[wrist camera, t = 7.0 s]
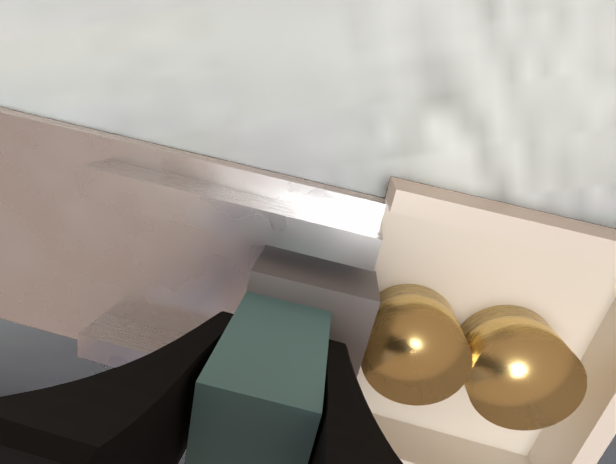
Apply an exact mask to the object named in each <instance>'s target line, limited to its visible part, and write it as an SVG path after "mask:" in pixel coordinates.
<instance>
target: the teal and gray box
mask: <svg viewBox="0 0 616 464" xmlns="http://www.w3.org/2000/svg"><path fill="white" fill-rule="evenodd" d="M380 303H381V301H380V295H379V288H378V282H377V276H376V271H369V270H365V269H361V268H357V267H353V266H349V265H345V264H341V263H337V262H333V261H329V260H325V259H321V258H317V257H313V256H309V255H305V254H301V253H297V252H293V251H290V250H285V249H281V248H277V247H273V246H269V245H266V246H265V247H264V249H263V251H262V252H261V254H260V256H259V257H258V259H257V260H256V262H255V264H254V265H253V267H252V269H251V270H250V275H249V281H248V286H247V292H246V293H245V295H244V297H243V299H242V300H241V302H240V304H239V306H238V308H237V309H236V311H235V313H234V315H233V316H232V318H231V320H230V322H229V324H228V325H227V327H226V329H225V331H224V332H223V334H222V336H221V338H220V339H219V341H218V343H217V345H216V347H215V348H214V350H213V352H212V354H211V355H210V357H209V359H208V361H207V363H206V364H205V366H204V368H203V370H202V371H201V373H200V375H199V377H198V379H197V380H196V383H195V390H194V398H193V405H192V413H191V420H190V427H189V435H188V442H187V450H186V457H185V464H308V461H309V458H310V454H311V451H312V447H313V444H314V440H315V437H316V433H317V430H318V426H319V423H320V419H321V416H322V410H323V399H324V388H325V377H326V366H327V355H328V344H329V339H330V340H334V341H338V342H341V343H345V344H346V346H347V348H348V352H349V356H350V360H351V363H352V366H353V369H354V372H355V375H356V377H357V376H358V372H359V369H360V366H361V363H362V360H363V357H364V353H365V350H366V347H367V344H368V341H369V337H370V334H371V331H372V328H373V325H374V322H375V318H376V315H377V312H378V309H379V306H380Z"/></svg>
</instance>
